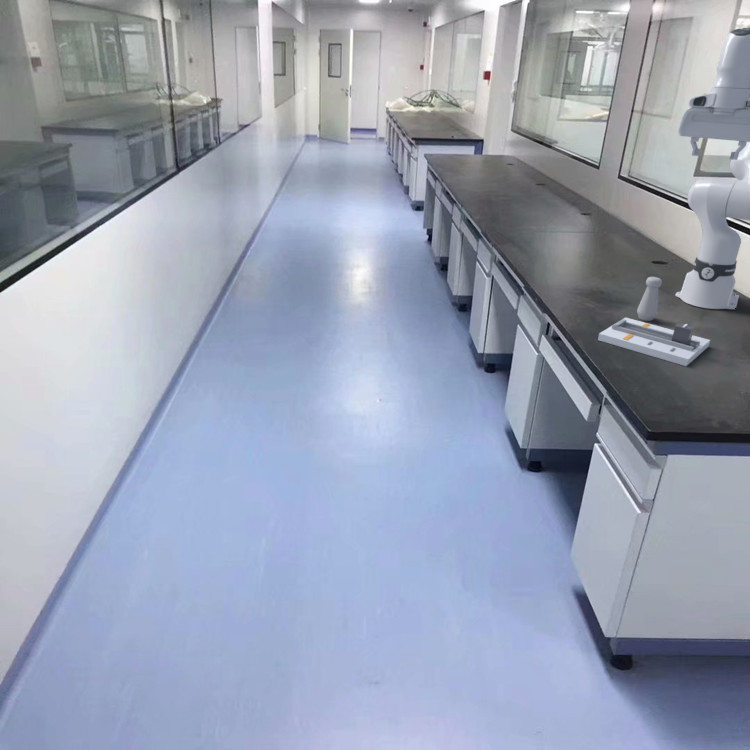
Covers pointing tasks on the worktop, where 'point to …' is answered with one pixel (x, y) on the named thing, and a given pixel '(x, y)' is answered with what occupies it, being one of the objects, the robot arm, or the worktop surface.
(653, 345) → the console
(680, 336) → the fader tab
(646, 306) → the salt shaker
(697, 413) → the worktop surface
